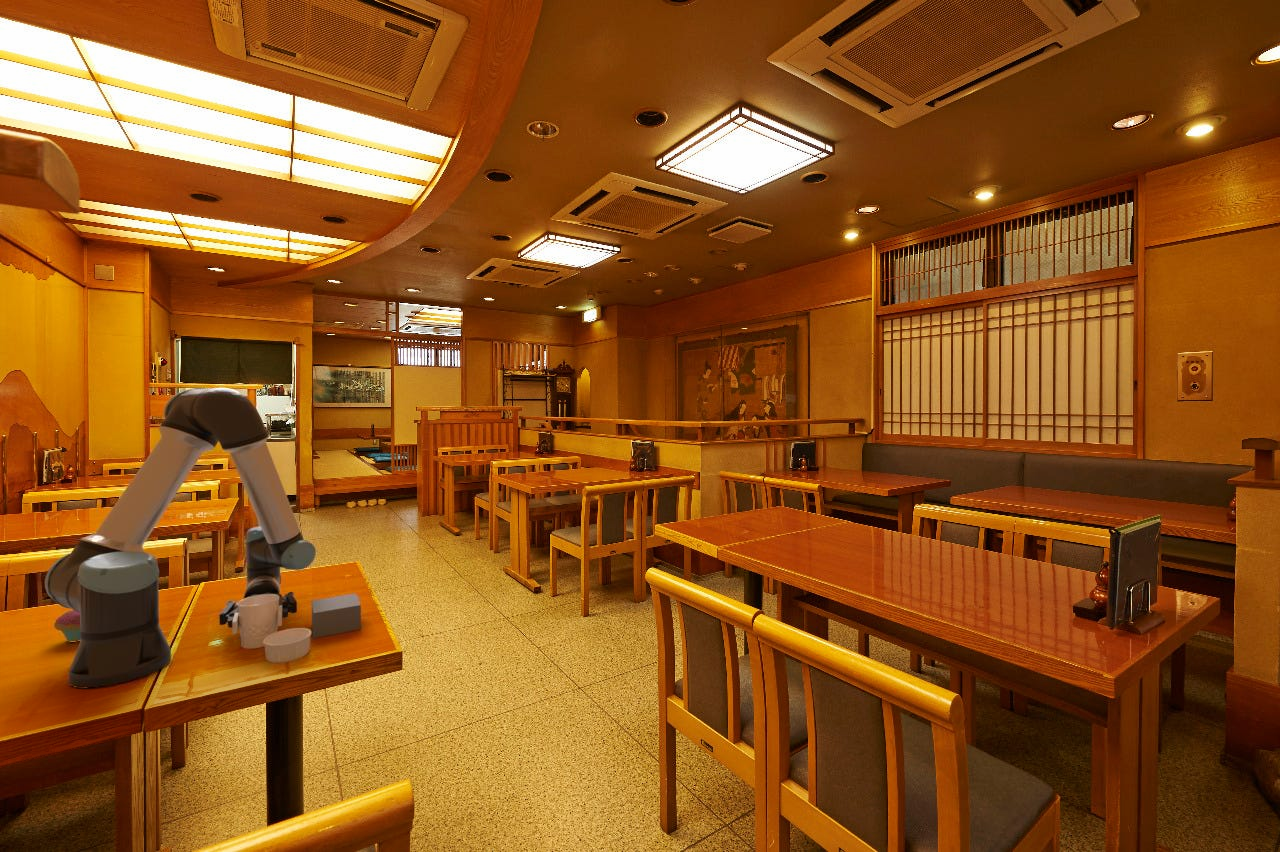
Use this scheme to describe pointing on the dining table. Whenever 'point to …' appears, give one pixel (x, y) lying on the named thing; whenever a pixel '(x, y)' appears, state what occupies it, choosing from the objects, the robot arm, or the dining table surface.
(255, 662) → the dining table surface
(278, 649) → the ramekin
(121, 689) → the dining table surface
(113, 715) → the dining table surface
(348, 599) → the gray rectangular block
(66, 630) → the cupcake
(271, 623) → the white cup
